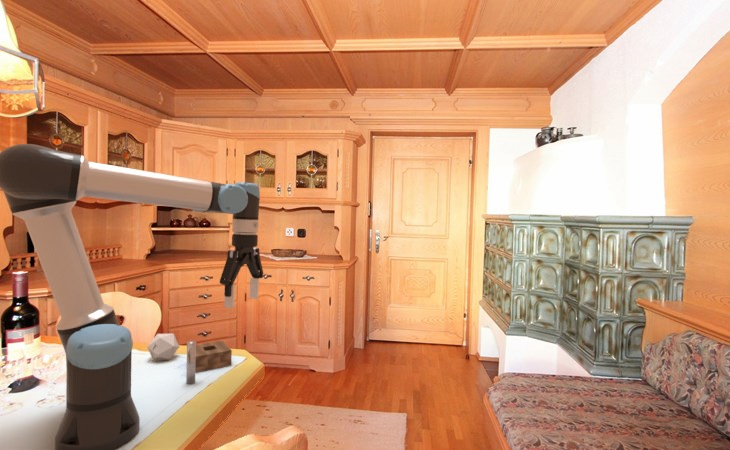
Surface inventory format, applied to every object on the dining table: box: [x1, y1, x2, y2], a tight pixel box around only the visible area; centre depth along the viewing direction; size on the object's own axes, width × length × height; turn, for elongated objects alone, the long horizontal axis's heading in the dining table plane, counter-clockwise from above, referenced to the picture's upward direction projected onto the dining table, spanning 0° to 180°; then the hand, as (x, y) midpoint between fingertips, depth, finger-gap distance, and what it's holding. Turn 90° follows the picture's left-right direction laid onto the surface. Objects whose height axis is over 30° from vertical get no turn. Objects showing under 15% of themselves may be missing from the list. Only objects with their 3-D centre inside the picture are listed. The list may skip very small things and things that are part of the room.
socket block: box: [195, 340, 233, 374], centre depth 125 cm, size 11×11×5 cm
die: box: [146, 333, 180, 361], centre depth 128 cm, size 8×9×10 cm
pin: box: [185, 340, 197, 385], centre depth 110 cm, size 2×2×12 cm
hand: (242, 302), depth 116 cm, fingers open, 13 cm apart
